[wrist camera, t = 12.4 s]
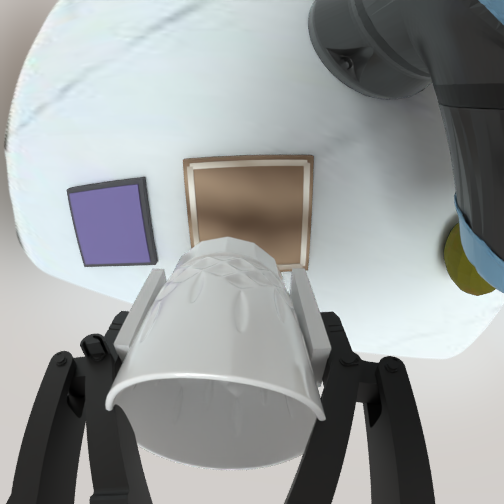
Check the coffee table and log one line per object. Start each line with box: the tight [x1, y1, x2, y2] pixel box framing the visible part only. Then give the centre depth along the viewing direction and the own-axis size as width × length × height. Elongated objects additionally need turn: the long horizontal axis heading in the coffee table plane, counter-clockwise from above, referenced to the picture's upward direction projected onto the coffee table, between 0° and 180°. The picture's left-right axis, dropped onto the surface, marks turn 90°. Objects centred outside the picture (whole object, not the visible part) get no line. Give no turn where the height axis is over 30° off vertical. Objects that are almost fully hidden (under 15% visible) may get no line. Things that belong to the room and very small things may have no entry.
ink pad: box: [67, 177, 158, 267], centre depth 29 cm, size 10×10×1 cm
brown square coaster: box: [183, 155, 314, 272], centre depth 30 cm, size 13×13×1 cm
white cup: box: [105, 237, 326, 470], centre depth 13 cm, size 8×8×10 cm
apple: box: [444, 223, 496, 296], centre depth 28 cm, size 10×10×11 cm
